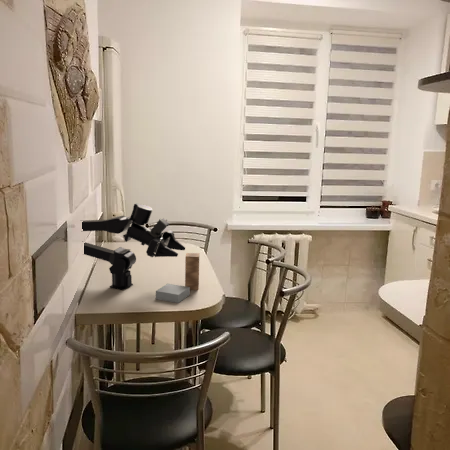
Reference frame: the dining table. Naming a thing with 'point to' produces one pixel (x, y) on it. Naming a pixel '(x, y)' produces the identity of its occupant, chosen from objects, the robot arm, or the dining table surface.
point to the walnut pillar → (192, 271)
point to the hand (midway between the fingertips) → (181, 252)
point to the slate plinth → (172, 293)
